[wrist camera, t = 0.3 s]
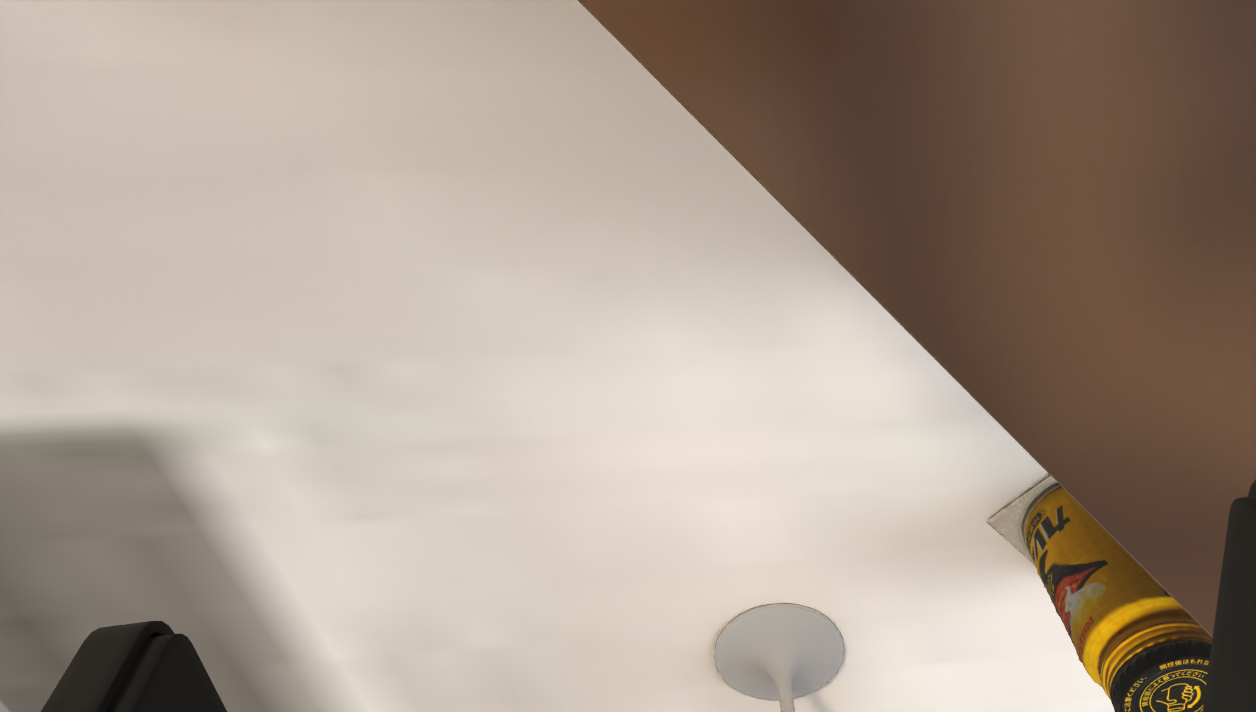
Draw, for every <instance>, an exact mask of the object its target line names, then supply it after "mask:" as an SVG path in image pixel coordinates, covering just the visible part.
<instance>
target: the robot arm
mask: <svg viewBox="0 0 1256 712" xmlns="http://www.w3.org/2000/svg"><path fill="white" fill-rule="evenodd" d="M41 712H227V711H226V709H225V707H224V705H223V703H222V701H221V699H220V697H219V695H218V693H217V691H216V689H215V687H214V685H213V683H212V681H211V679H210V678H209V676H208V674H207V672H206V670H205V668H204V666H203V664H202V662H201V660H200V658H199V656H198V654H197V652H196V650H195V648H194V647H193V645H192V643H191V642H190V640H189V639H188V637H186V636H185V635H183V634H174V632H173V631H172V629H171V628H170V627H169V625H167V624H165V623H164V622H162V621H149V622H141V623H134V624H126V625H118V626H111V627H103V628H99V629H97V630H95V631H93V632H91V634H90V635H89V636H88V637H87V638H86V640H85V641H84V642H83V644H82V645H81V647H80V649H79V650H78V652H77V654H76V655H75V657H74V659H73V660H72V662H71V663H70V665H69V667H68V668H67V670H66V672H65V673H64V675H63V676H62V678H61V680H60V681H59V683H58V685H57V686H56V688H55V690H54V691H53V693H52V694H51V696H50V698H49V699H48V701H47V703H46V704H45V706H44V707H43V709H42V711H41ZM1203 712H1256V480H1255V481H1254V482H1253V484H1252V485H1251V487H1250V490H1249V494H1248V497H1241V498H1237V499H1235V500H1234V501H1233V503H1232V504H1231V508H1230V512H1229V519H1228V526H1227V534H1226V541H1225V548H1224V556H1223V563H1222V571H1221V578H1220V586H1219V593H1218V600H1217V608H1216V615H1215V623H1214V630H1213V638H1212V645H1211V652H1210V660H1209V667H1208V675H1207V682H1206V690H1205V697H1204V705H1203Z"/></svg>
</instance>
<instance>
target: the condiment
mask: <svg viewBox="0 0 1256 712" xmlns="http://www.w3.org/2000/svg"><path fill="white" fill-rule="evenodd" d="M987 523H988V524H989V525H990V526H991V527H992V528H993V529H995V530H996V531H997V532H998V533H999V534H1000V535H1002V536H1003V537H1004V538H1005V539H1006V540H1007V541H1009V542H1010V543H1011V544H1012V545H1013V546H1014V547H1015V548H1017V549H1018V550H1019V551H1020V552H1021V553H1022V554H1023V555H1025V556H1026V557H1027V558H1028V559H1029V560H1030V561H1031V562H1032V563H1033V564H1034V565H1035V566H1036V568H1037V571H1038V574H1039V576H1040V578H1041V580H1042V582H1043V583H1044V586H1045V588H1046V589H1047V592H1048V594H1049V595H1050V597H1051V600H1052V602H1053V604H1054V606H1055V608H1056V612H1057V613H1058V615H1059V616H1060V618H1061V620H1062V622H1063V623H1064V626H1065V628H1066V630H1067V632H1068V634H1069V636H1070V638H1071V640H1072V643H1073V645H1074V646H1075V649H1076V652H1077V655H1078V657H1079V660H1080V662H1082V663H1083V665H1084V667H1085V669H1086V671H1087V672H1088V674H1089V675H1090V676H1091V678H1092V679H1093V680H1094V682H1096V683H1098V684H1099V685H1100V686H1101V687H1103V689H1104V691H1105V692H1106V694H1107V696H1108V697H1109V698H1110V699H1111V701H1112V704H1113V707H1114V710H1115V712H1203V705H1204V697H1205V690H1206V682H1207V675H1208V667H1209V660H1210V652H1211V645H1212V637H1211V636H1210V635H1209V634H1208V633H1207V632H1206V631H1205V630H1204V629H1203V628H1202V627H1201V626H1200V625H1199V624H1198V623H1197V622H1196V621H1195V620H1194V619H1193V618H1192V617H1191V616H1190V615H1189V614H1188V613H1187V612H1186V611H1185V610H1184V609H1183V608H1182V607H1181V606H1180V605H1179V604H1178V603H1177V602H1176V601H1175V600H1174V599H1173V598H1172V597H1171V596H1170V595H1169V594H1168V593H1167V592H1166V591H1165V590H1164V589H1163V588H1162V587H1161V586H1160V585H1159V584H1158V583H1157V582H1156V581H1155V580H1154V579H1153V578H1152V577H1151V576H1150V575H1149V574H1148V573H1147V572H1146V571H1145V570H1144V569H1143V568H1142V567H1141V566H1140V565H1139V564H1138V563H1137V562H1136V561H1135V560H1134V559H1133V558H1132V557H1131V556H1130V555H1129V554H1128V552H1127V551H1126V550H1125V549H1124V548H1123V547H1122V546H1121V545H1120V544H1119V543H1118V542H1117V541H1116V540H1115V539H1114V538H1113V537H1112V536H1111V535H1110V534H1109V533H1108V532H1107V531H1106V530H1105V529H1104V528H1103V527H1102V526H1101V525H1100V524H1099V523H1098V522H1097V521H1096V520H1095V519H1094V518H1093V517H1092V516H1091V515H1090V514H1089V513H1088V512H1087V511H1086V510H1085V509H1084V508H1083V507H1082V506H1081V505H1080V504H1079V503H1078V502H1077V501H1076V500H1075V499H1074V498H1073V497H1072V496H1071V495H1070V494H1069V493H1068V492H1067V491H1066V490H1065V489H1064V488H1063V487H1062V486H1061V485H1060V484H1059V483H1058V482H1057V481H1056V480H1055V479H1054V478H1053V477H1052V476H1051V475H1050V476H1049V477H1047V478H1046V479H1045V480H1043V481H1042V482H1041V483H1039V484H1038V485H1036V486H1035V487H1034V488H1032V489H1031V490H1029V491H1028V492H1026V493H1025V494H1024V495H1022V496H1021V497H1019V498H1017V499H1016V500H1015V501H1013V502H1012V503H1011V504H1010V505H1009V506H1007V507H1005V508H1003V509H1002V510H1001V511H999V512H998V513H997V514H996V515H994V516H993V517H992V518H991V519H990V520H989V521H988V522H987Z"/></svg>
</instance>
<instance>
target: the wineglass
mask: <svg viewBox="0 0 1256 712" xmlns="http://www.w3.org/2000/svg"><path fill="white" fill-rule="evenodd" d="M843 655H844V646H843V640H842V636H841V634H840V632H839V630H838V629H837V627H836V625H835V624H834V623H833V622H832V621H831V620H830V619H829V618H828V617H826V616H825V615H823V614H821V613H820V612H818V611H816V610H814V609H811V608H808V607H805V606H802V605H795V604H786V603H783V604H769V605H765V606H761V607H757V608H753V609H751V610H749V611H747V612H745V613H743V614H740V615H739V616H737V617H736V618H735V619H734V620H732V621H731V622H730V623H728V624H727V626H726V627H725V628H724V629H723V631H722V632H721V633H720V635H719V637H718V640H717V642H716V644H715V655H714V657H715V662H716V666H717V670H718V672H719V673H720V675H721V677H722V678H723V680H724V681H725V682H726V683H728V684H729V685H730V686H731V687H732V688H733V689H735V690H737V691H739V692H741V693H742V694H744V695H747V696H750V697H754V698H757V699H764V700H773V701H774V700H779V701H780V707H781V712H795V708H794V702H793V698H797V697H802V696H805V695H807V694H809V693H811V692H814V691H816V690H818V689H819V688H821V687H822V686H823V685H825V684H826V683H828V682H829V681H830V680H831V679H832V677H833V676H834V675H835V674H836V673H837V671H838V669H839V667H840V665H841V664H842V661H843Z"/></svg>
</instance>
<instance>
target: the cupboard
mask: <svg viewBox="0 0 1256 712" xmlns="http://www.w3.org/2000/svg"><path fill="white" fill-rule="evenodd" d="M578 1H579V2H580V3H581V4H582V5H583V6H584V7H585V8H586V9H587V10H588V11H589V12H590V13H591V14H592V15H593V16H594V17H595V18H596V19H597V20H598V21H599V22H600V23H601V24H602V25H603V26H604V27H605V28H606V29H607V30H608V31H609V32H610V33H611V34H612V35H613V36H614V37H615V38H616V39H617V40H618V41H619V42H620V43H621V44H622V45H623V46H624V47H625V48H626V49H627V50H628V51H629V52H630V53H631V54H632V55H633V56H634V57H635V58H636V59H637V60H638V61H639V62H640V63H641V64H642V65H643V66H644V67H645V68H646V69H647V70H648V71H649V72H650V73H651V74H652V75H653V76H654V77H655V78H656V79H657V80H658V81H659V82H660V83H661V84H662V86H663V87H664V88H665V89H666V90H667V91H668V92H669V93H670V94H671V95H672V96H673V97H674V98H675V99H676V100H677V101H678V102H679V103H680V104H681V105H682V106H683V107H684V108H685V109H686V110H687V111H688V112H689V113H690V114H691V115H692V116H693V117H694V118H695V119H696V120H697V121H698V122H699V123H700V124H701V125H702V126H703V127H704V128H705V129H706V130H707V131H708V132H709V133H710V134H711V135H712V136H713V137H714V138H715V139H716V140H717V141H718V142H719V143H720V144H721V145H722V146H723V147H724V148H725V149H726V150H727V151H728V152H729V153H730V154H731V155H732V156H733V157H734V158H735V159H736V160H737V161H738V162H739V163H740V164H741V165H742V166H743V167H744V168H745V169H746V170H747V171H748V172H749V173H750V174H751V175H752V176H753V177H754V178H755V179H756V180H757V181H758V182H759V183H760V184H761V185H762V186H763V187H764V188H765V189H766V190H767V191H768V192H769V193H770V194H771V195H772V196H773V197H774V198H775V199H776V200H777V201H778V202H779V203H780V204H781V205H782V206H783V207H784V208H785V209H786V210H787V211H788V212H789V213H790V214H791V215H792V216H793V217H794V218H795V219H796V220H797V221H798V222H799V223H800V224H801V225H802V226H803V227H804V228H805V229H806V230H807V231H808V232H809V233H810V234H811V235H812V236H813V237H814V238H815V239H816V240H817V241H818V242H819V243H820V244H821V245H822V246H823V247H824V248H825V249H826V250H827V251H828V252H829V253H830V254H831V255H832V256H833V257H834V258H835V259H836V260H837V261H838V262H839V263H840V264H841V265H842V266H843V267H844V268H845V269H846V270H847V271H848V272H849V273H850V274H851V275H852V276H853V277H854V278H855V279H856V280H857V281H858V282H859V283H860V284H861V285H862V286H863V287H864V288H865V289H866V290H867V291H868V292H869V293H870V294H871V295H872V296H873V297H874V298H875V299H876V300H877V301H878V302H879V303H880V304H881V305H882V306H883V307H884V308H885V309H886V310H887V311H888V312H889V313H890V314H891V315H892V316H893V317H894V318H895V320H896V321H897V322H898V323H899V324H900V325H901V326H902V327H903V328H904V329H905V330H906V331H907V332H908V333H909V334H910V335H911V336H912V337H913V338H914V339H915V340H916V341H917V342H918V343H919V344H920V345H921V346H922V347H923V348H924V349H925V350H926V351H927V352H928V353H929V354H930V355H931V356H932V357H933V358H934V359H935V360H936V361H937V362H938V363H939V364H940V365H941V366H942V367H943V368H944V369H945V370H946V371H947V372H948V373H949V374H950V375H951V376H952V377H953V378H954V379H955V380H956V381H957V382H958V383H959V384H960V385H961V386H962V387H963V388H964V389H965V390H966V391H967V392H968V393H969V394H970V395H971V396H972V397H973V398H974V399H975V400H976V401H977V402H978V403H979V404H980V405H981V406H982V407H983V408H984V409H985V410H986V411H987V412H988V413H989V414H990V415H991V416H992V417H993V418H994V419H995V420H996V421H997V422H998V423H999V424H1000V425H1001V426H1002V427H1003V428H1004V429H1005V430H1006V431H1007V432H1008V433H1009V434H1010V435H1011V436H1012V437H1013V438H1014V439H1015V440H1016V441H1017V442H1018V443H1019V444H1020V445H1021V446H1022V447H1023V448H1024V449H1025V450H1026V451H1027V452H1028V453H1029V454H1030V455H1031V456H1032V457H1033V458H1034V459H1035V460H1036V461H1037V462H1038V463H1039V464H1040V465H1041V466H1042V467H1043V468H1044V469H1045V470H1046V471H1047V472H1048V473H1049V474H1050V475H1051V476H1052V477H1053V478H1054V479H1055V480H1056V481H1057V482H1058V483H1059V484H1060V485H1061V486H1062V487H1063V488H1064V489H1065V490H1066V491H1067V492H1068V493H1069V494H1070V495H1071V496H1072V497H1073V498H1074V499H1075V500H1076V501H1077V502H1078V503H1079V504H1080V505H1081V506H1082V507H1083V508H1084V509H1085V510H1086V511H1087V512H1088V513H1089V514H1090V515H1091V516H1092V517H1093V518H1094V519H1095V520H1096V521H1097V522H1098V523H1099V524H1100V525H1101V526H1102V527H1103V528H1104V529H1105V530H1106V531H1107V532H1108V533H1109V534H1110V535H1111V536H1112V537H1113V538H1114V539H1115V540H1116V541H1117V542H1118V543H1119V544H1120V545H1121V546H1122V547H1123V548H1124V549H1125V550H1126V551H1127V552H1128V554H1129V555H1130V556H1131V557H1132V558H1133V559H1134V560H1135V561H1136V562H1137V563H1138V564H1139V565H1140V566H1141V567H1142V568H1143V569H1144V570H1145V571H1146V572H1147V573H1148V574H1149V575H1150V576H1151V577H1152V578H1153V579H1154V580H1155V581H1156V582H1157V583H1158V584H1159V585H1160V586H1161V587H1162V588H1163V589H1164V590H1165V591H1166V592H1167V593H1168V594H1169V595H1170V596H1171V597H1172V598H1173V599H1174V600H1175V601H1176V602H1177V603H1178V604H1179V605H1180V606H1181V607H1182V608H1183V609H1184V610H1185V611H1186V612H1187V613H1188V614H1189V615H1190V616H1191V617H1192V618H1193V619H1194V620H1195V621H1196V622H1197V623H1198V624H1199V625H1200V626H1201V627H1202V628H1203V629H1204V630H1205V631H1206V632H1207V633H1208V634H1209V635H1210V636H1211V637H1212V638H1213V630H1214V623H1215V615H1216V608H1217V600H1218V593H1219V586H1220V578H1221V571H1222V563H1223V556H1224V548H1225V541H1226V534H1227V526H1228V519H1229V512H1230V508H1231V504H1232V503H1233V501H1234V500H1235V499H1237V498H1241V497H1248V494H1249V490H1250V487H1251V485H1252V484H1253V482H1254V481H1255V480H1256V0H578Z"/></svg>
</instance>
